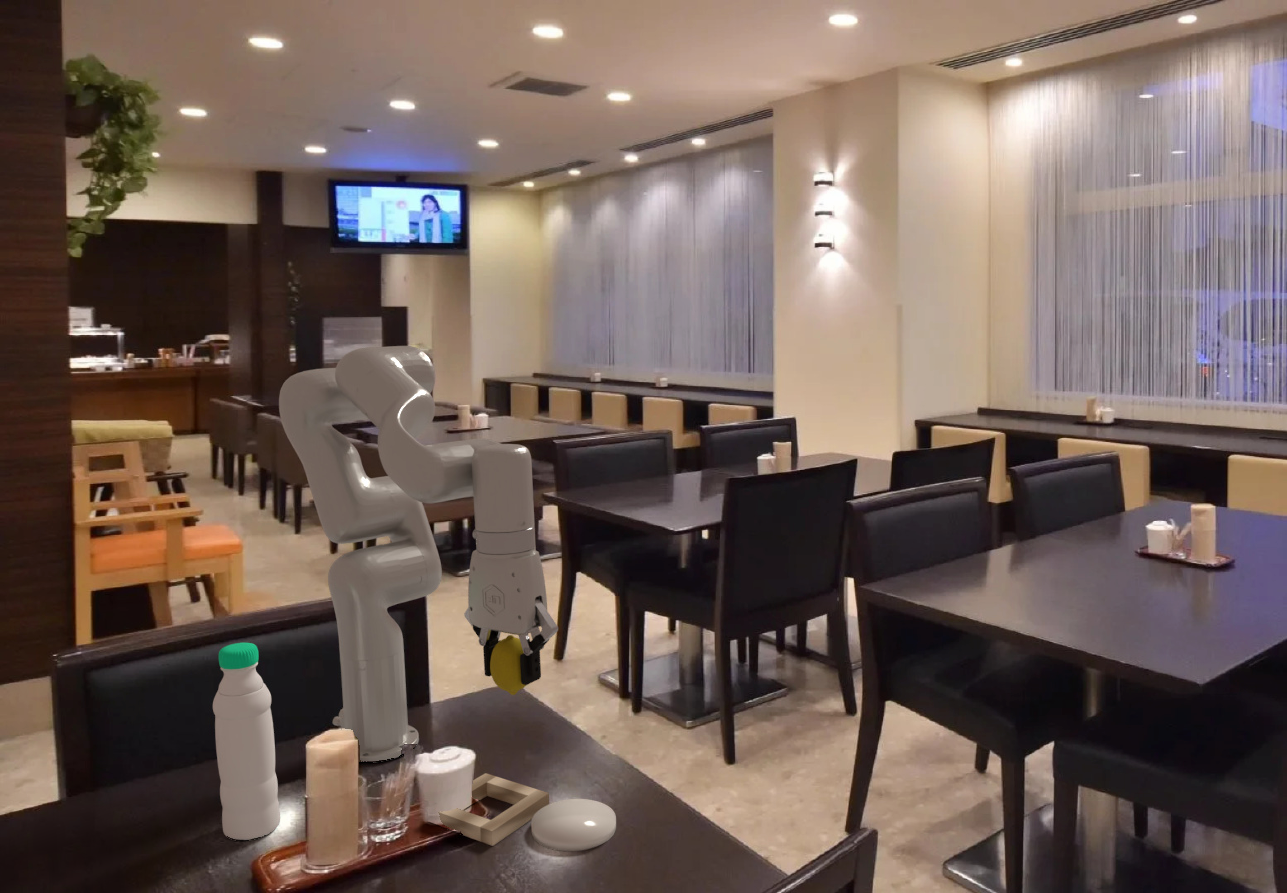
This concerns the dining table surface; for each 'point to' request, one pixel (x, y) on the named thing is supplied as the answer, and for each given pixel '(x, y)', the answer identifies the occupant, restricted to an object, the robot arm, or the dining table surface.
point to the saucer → (573, 824)
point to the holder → (504, 823)
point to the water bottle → (245, 746)
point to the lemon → (507, 664)
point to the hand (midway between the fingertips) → (512, 676)
